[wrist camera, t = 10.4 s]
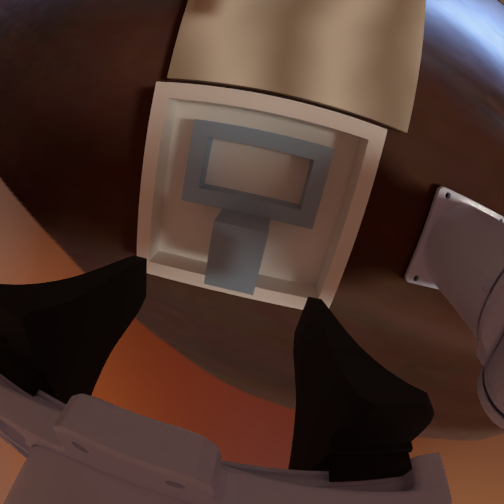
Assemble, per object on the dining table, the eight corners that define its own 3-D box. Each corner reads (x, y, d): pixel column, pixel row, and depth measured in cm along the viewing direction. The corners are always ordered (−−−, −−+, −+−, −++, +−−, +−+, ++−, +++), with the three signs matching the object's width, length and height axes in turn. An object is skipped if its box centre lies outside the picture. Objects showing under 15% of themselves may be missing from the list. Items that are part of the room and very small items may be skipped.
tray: (374, 129, 16) (387, 129, 14) (322, 295, 22) (326, 314, 19) (171, 86, 16) (156, 81, 14) (149, 255, 22) (136, 270, 19)
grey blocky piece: (294, 273, 21) (296, 304, 17) (181, 247, 21) (162, 273, 17) (329, 147, 17) (343, 151, 13) (201, 119, 17) (181, 117, 13)
